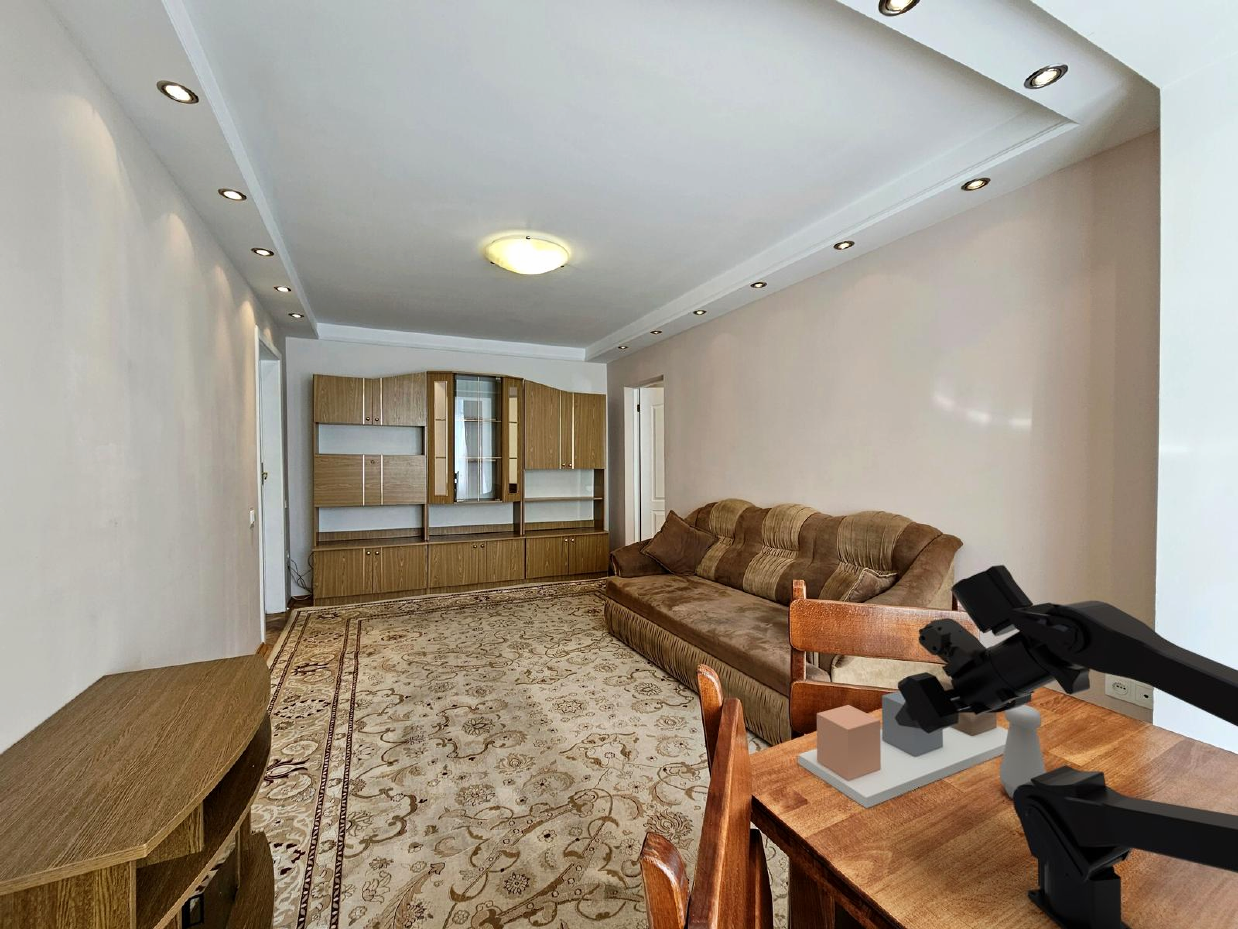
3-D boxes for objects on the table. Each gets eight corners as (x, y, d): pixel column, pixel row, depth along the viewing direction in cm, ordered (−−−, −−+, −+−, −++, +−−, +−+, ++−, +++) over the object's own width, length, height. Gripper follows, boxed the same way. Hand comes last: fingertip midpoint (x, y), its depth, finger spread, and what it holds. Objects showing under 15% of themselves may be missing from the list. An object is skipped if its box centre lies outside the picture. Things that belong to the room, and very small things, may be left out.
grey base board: (950, 715, 106) (950, 707, 106) (1024, 745, 94) (1024, 736, 94) (798, 763, 89) (798, 754, 89) (866, 808, 77) (866, 797, 77)
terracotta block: (880, 769, 84) (880, 720, 84) (848, 780, 81) (847, 729, 81) (848, 751, 89) (848, 704, 90) (817, 761, 86) (816, 713, 86)
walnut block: (996, 727, 97) (996, 685, 97) (972, 736, 94) (972, 692, 94) (962, 714, 103) (962, 673, 103) (938, 721, 100) (938, 680, 100)
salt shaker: (1058, 812, 76) (1057, 718, 76) (1011, 807, 77) (1010, 714, 77) (1035, 787, 82) (1034, 700, 82) (992, 783, 83) (991, 697, 83)
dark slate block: (942, 746, 91) (942, 701, 91) (915, 756, 88) (914, 709, 88) (909, 731, 96) (909, 688, 96) (882, 740, 93) (882, 695, 93)
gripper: (1012, 598, 73) (930, 649, 84) (915, 614, 65) (839, 668, 76) (1077, 681, 66) (979, 725, 77) (978, 709, 59) (885, 753, 69)
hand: (921, 714), depth 75 cm, fingers open, 9 cm apart
